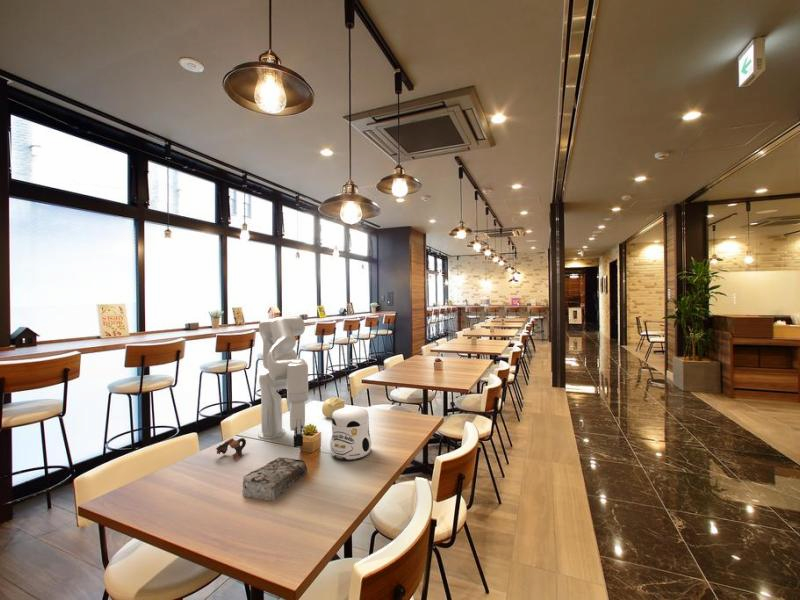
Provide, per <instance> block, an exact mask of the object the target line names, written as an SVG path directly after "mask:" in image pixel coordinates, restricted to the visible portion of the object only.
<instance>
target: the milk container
mask: <svg viewBox="0 0 800 600" xmlns="http://www.w3.org/2000/svg"><path fill="white" fill-rule="evenodd" d="M369 418H370V417H369V411H368V409H366V408H363V407H357V406H353V407H351V406H347V407H344V408H342V409H338V410H336V411H334V412H333V415H332V418H331V422H332V423H331V437H330V443H329V449H330V453H331V455H332V456H333V457H334V458H335V459H337V460H340V461H347V462H348V461H349V462H350V461H351V462H352V461H357V460H360V459H363V458H364V457H366V456H368V455H369V453H370V452H371V449H372V438H371V436H370V420H369Z"/></svg>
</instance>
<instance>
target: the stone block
mask: <svg viewBox="0 0 800 600" xmlns="http://www.w3.org/2000/svg"><path fill="white" fill-rule="evenodd" d="M307 473H308V467H307V465H306V462H305V460H302V459H296V458H288V457H282V456H279V457H277V458H275V459H274V460H271V461H270V462H268V463H266V464H265V465H263V466H261V467H259V468H257V469H255V470H253V471H250V472H249V473H248V474H245V475H244V476H243V477H242V478H243V480H242V489H241V492H242V496H243V497H248V498H254V499H258V500H259V499H260V500H262V501H274V500H276V499H278V497H280V496H281V495H283V494H284V493H285V492H286V491H287V490H289V489H290V488H291V487H292V486H293V485H295V484H296V483H297V482H299V480H300V479H301V478H303V477H304V476H305V475H306V474H307Z"/></svg>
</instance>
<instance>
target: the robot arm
mask: <svg viewBox="0 0 800 600" xmlns="http://www.w3.org/2000/svg"><path fill="white" fill-rule="evenodd" d="M305 329H306V325H305V322H304V319H303V318H302V317H301V316H296V315H295V316H294V315H293V316H278V317H275V318H269V319H267V318H266V319H263V320H261V321H260V322H259V324H258V331H259V334H260V336H261V339H262V345H263V346H262V365H263V368H264V369H265V370H266V371H263V372H262V373H260V375H259V377H258V382H259V389H260V400H261V405H260V407H261V409H260V410H261V411H260V413H261V431H259V432H258V435H257V436H258V438H259V439H261V440H272V439H278V438H281V437H282V436H284V435H285V434H286V429H285V428H283V407H282V406H283V403H282V402H283V399H282V396H281V395H280V394H279V392H277V391H279V390H283V389H286V393H287V394H286V398H287V399H286V400H287V401H286V402H287V403H289V428H290V432H293V433H294V434H293V448H298V447H299V448H301V447H303V446H304V434H303V430H304V429H305V427H306V426H305V425H306V402H307V401H308V400H309V365H308V363H307V362H306V361H305V359H303V358H298V357H297V356H298V355H297V351H296V350H295V349H294V348H295V347H296V345H297V341H296V338H295V337H296V336H301V335H303V334H304V333H305ZM267 370H268V371H267Z"/></svg>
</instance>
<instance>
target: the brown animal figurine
mask: <svg viewBox="0 0 800 600" xmlns="http://www.w3.org/2000/svg"><path fill="white" fill-rule="evenodd" d="M246 444H247V440H246V439H245V438H244V437H241V438H238V439H236V440H235V439H234V438H233V437H232V438H231V437H230V439H228V440H227V441H225V442H223V443H222V444H219V445H218V446H217V447H216V448H215V449H216V455H217V454H218V455H221V453H222V455H225V454H227V451H228V447H229V446H230V448H231V449H233V450H235V452H234V453H233V454H232V458H233V460H237V459H239V458H240V457H242V456H243V449H244V448H245V447H246Z"/></svg>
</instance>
